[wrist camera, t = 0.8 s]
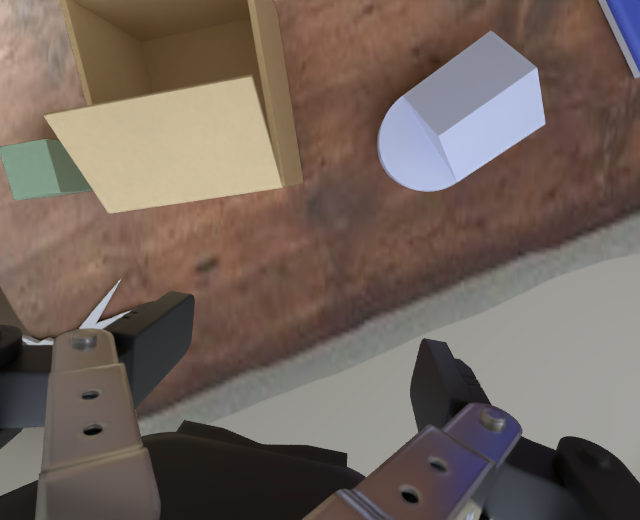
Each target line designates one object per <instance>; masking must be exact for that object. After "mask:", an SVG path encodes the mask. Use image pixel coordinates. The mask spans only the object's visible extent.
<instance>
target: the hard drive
mask: <svg viewBox="0 0 640 520" xmlns="http://www.w3.org/2000/svg"><path fill="white" fill-rule="evenodd" d="M598 1H599V3H600V5H601V8H602V10H603V12H604V14H605V16H606V18H607V20H608V22H609V25H610V27H611V29H612V31H613V33H614V35H615V37H616V39H617V42H618V44H619V46H620V48H621V50H622V52H623V54H624V56H625V58H626V61H627V63H628V65H629V67H630V69H631V71H632V73H633V76H634V78H638V77H640V0H598Z"/></svg>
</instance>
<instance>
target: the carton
mask: <svg viewBox="0 0 640 520" xmlns="http://www.w3.org/2000/svg"><path fill="white" fill-rule="evenodd" d="M60 4H61V8H62V12H63V15H64V19H65V23H66V27H67V31H68V35H69V39H70V42H71V46H72V50H73V54H74V58H75V62H76V66H77V69H78V73H79V77H80V81H81V85H82V89H83V92H84V96H85V100H86V104H87V105H93V104H98V103H103V102H108V101H114V100H119V99H124V98H130V97H135V96H140V95H145V94H151V93H156V92H161V91H167V90H172V89H177V88H183V87H188V86H193V85H198V84H204V83H209V82H214V81H220V80H225V79H230V78H236V77H241V76H246V75H252V76H253V79H254V83H255V87H256V90H257V94H258V97H259V101H260V105H261V108H262V112H263V115H264V119H265V123H266V126H267V130H268V133H269V137H270V141H271V144H272V148H273V151H274V155H275V159H276V162H277V166H278V169H279V173H280V177H281V180H282V184H283V187H287V186H292V185H296V184H301V183H304V182H303V175H302V169H301V162H300V156H299V149H298V143H297V136H296V130H295V123H294V117H293V110H292V104H291V97H290V91H289V84H288V78H287V72H286V65H285V59H284V52H283V46H282V39H281V33H280V26H279V20H278V13H277V9H276V7H275V5H274V3H273V1H272V0H60Z"/></svg>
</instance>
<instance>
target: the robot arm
mask: <svg viewBox="0 0 640 520" xmlns="http://www.w3.org/2000/svg"><path fill="white" fill-rule="evenodd" d="M194 304H195V300H194V296H193V295H191V294H186V293H181V292H175V291H170V292H169V293H167V294H166V295H164V296H163V297H161V298H160V299H158V300H157V301H152V302H149V303H145V304H142V305H139V306H137V307H136V308H134V309H133V310H131V311H130V312H129V313H126V314H125V315H123V316H122V318H119V319H117V320H115V321H114V322H112V323H111V324H109V325H108V326H106V327H104V328H103V329H96V328H84V329H76V330H72V331H68V332H65V333H63V334H61V335H59V336H58V337H57V338H55V340H54V342H53V345H23V342H22V331H21V330H20V329H19V328H17V327H14V326H9V325H0V449H1V448H2V447H3V446H4V445H6V444H7V443H8V442H9V441H10V440H12V439H13V438H14V437H15V436H16V435H17V434H18V433H20V432H21V431H22V429H23V428H28V427H44V440H43V453H42V465H41V473H40V474H39V480H37V481H34V482H32V483H30V484H27V485H25V486H22V487H20V488H18V489H16V490H13V491H11V492H9V493H6V494H4V495H2V496H0V520H640V483H639V482H638V481H637V479H636V478H635V477H634V476H633V475H632V473H631V472H630V471H629V470H628V468H627V467H626V466H625V465H624V464H623V463H622V462H621V461H620V460H619V459H618V458H617V457H616V456H615V455H613V454H612V453H611V452H609V451H608V450H606V449H604V448H603V447H601V446H599V445H597V444H595V443H593V442H590V441H587V440H585V439H582V438H578V437H571V436H567V437H563V438H561V439H560V441H559V443H558V446H557V449H556V450H554V449H551V448H549V447H546V446H544V445H541V444H538V443H536V442H533V441H531V440H528V439H526V438H524V437H522V436H521V435H522V428H521V426H520V424H519V423H518V421H517V420H516V419H515V418H514V417H512V416H511V415H510V414H508V413H507V412H505V411H503V410H501V409H499V408H497V407H495V406H492V405H491V403H490V402H489V399H488V398H487V396H486V394H485V392H484V391H483V389H482V388H481V387H480V384H479V382H478V380H476V377H475V375H474V373H473V372H472V370H471V368H470V367H468V366H467V365H466V364H465V363H464V362H463V361H461V360H460V359H455V358H454V357H453V355H452V353H451V351H450V349H449V347H448V345H447V343H446V342H441V341H436V340H430V339H425V338H424V339H423V340H422V341H421V344H420V348H419V352H418V355H417V360H416V364H415V368H414V372H413V376H412V380H411V387H410V398H411V403H412V406H413V411H414V415H415V420H416V424H417V428H418V434H416V435H415V436H414V437H413V438H412V439H411V440H409V441H408V442H407V443H406V444H405V445H403V446H402V447H401V448H400V449H399V450H398V451H397V452H396V453H394V454H393V455H392V456H391V457H390V458H389V459H387V460H386V461H385V462H384V463H383V464H382V465H380V466H379V467H378V468H377V469H376V470H375V471H373V472H372V473H371V474H370V475H369V476H368V477H365V476H364V475H362V474H360V473H359V472H357V471H355V470H353V469H351V468H348V467H347V453H343V452H338V451H333V450H328V449H323V448H318V447H313V446H309V445H265V444H260V443H257V442H255V441H253V440H250V439H248V438H245V437H243V436H241V435H238V434H236V433H233V432H231V431H229V430H226V429H224V428H220V427H215V426H210V425H205V424H201V423H196V422H191V421H186V420H184V421H183V423H182V424H181V426H180V427H179V429H178V430H177V431H176V432H164V433H156V434H150V435H146V436H142V437H141V434H140V430H139V425H138V421H137V416H136V412H135V409H136V408H137V407H138V405H139V404H140V403H141V402H142V401H143V400H144V399H145V398H146V397H147V396H148V395H149V393H150V392H151V391H152V390H153V389H154V388H155V387H156V386H157V385H158V384H159V382H160V381H161V380H162V379H163V378H164V377H165V376H166V375H167V374H168V373H169V371H170V370H171V369H172V368H173V367H174V366H175V365H176V364H177V363H178V362H179V361H180V359H181V358H182V357H183V356H184V355H185V354H186V352H187V351H188V348H189V346H190V343H191V338H192V328H193V316H194Z"/></svg>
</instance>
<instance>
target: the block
mask: <svg viewBox="0 0 640 520" xmlns="http://www.w3.org/2000/svg"><path fill="white" fill-rule="evenodd" d="M0 156H1V159H2V162H3V165H4V168H5V172H6V175H7V178H8V181H9V184H10V188H11V191H12V194H13V197H14V200H22V199H34V198H46V197H56V196H62V195H69V194H75V193H81V192H88V191H93V189H92V188H91V186H90V185H89V183H88V182H87V180H86V179H85V177H84V176H83V174H82V173H81V171H80V170H79V168H78V167H77V165H76V164H75V162H74V161H73V159H72V158H71V156H70V155H69V153H68V152H67V150H66V149H65V147H64V146H63V144H62V143H61V141H60V140H53V139H40V140H35V141H29V142H24V143H18V144H13V145H7V146H1V147H0Z"/></svg>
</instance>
